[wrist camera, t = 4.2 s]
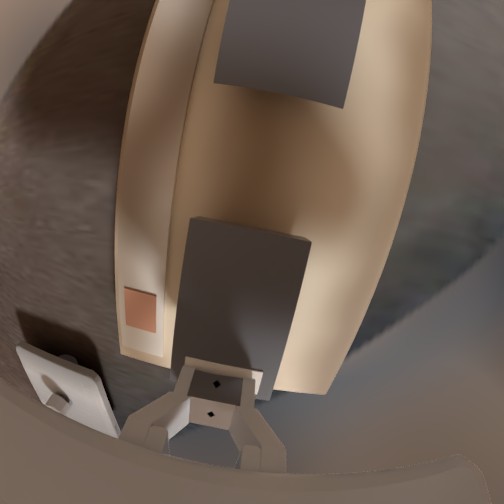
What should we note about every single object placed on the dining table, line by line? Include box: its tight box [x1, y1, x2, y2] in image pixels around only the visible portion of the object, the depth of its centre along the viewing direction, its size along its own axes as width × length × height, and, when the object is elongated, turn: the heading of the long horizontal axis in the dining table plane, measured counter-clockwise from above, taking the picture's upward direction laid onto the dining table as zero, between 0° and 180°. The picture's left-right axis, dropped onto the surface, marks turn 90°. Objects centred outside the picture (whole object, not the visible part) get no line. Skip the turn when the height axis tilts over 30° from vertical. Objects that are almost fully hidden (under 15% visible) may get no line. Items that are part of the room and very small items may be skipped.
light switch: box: [16, 341, 121, 438], centre depth 20 cm, size 10×10×5 cm
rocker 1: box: [213, 0, 366, 109], centre depth 7 cm, size 4×7×2 cm, turn 169°
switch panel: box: [115, 0, 432, 395], centre depth 12 cm, size 13×25×4 cm, turn 169°
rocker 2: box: [170, 216, 312, 401], centre depth 11 cm, size 4×7×2 cm, turn 169°
